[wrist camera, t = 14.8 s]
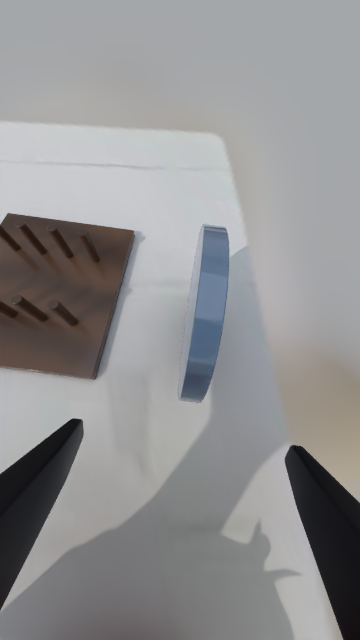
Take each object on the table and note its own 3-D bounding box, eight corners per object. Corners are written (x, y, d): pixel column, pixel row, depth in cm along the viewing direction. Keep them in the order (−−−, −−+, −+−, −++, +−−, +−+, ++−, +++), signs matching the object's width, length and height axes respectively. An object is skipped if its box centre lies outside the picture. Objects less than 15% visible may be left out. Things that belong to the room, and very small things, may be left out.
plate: (189, 411, 16) (230, 379, 6) (174, 409, 16) (191, 374, 6) (199, 297, 21) (228, 184, 11) (187, 295, 21) (208, 181, 11)
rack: (95, 379, 17) (73, 372, 13) (-73, 357, 17) (-148, 343, 13) (134, 235, 23) (128, 200, 19) (12, 218, 23) (-20, 180, 19)
